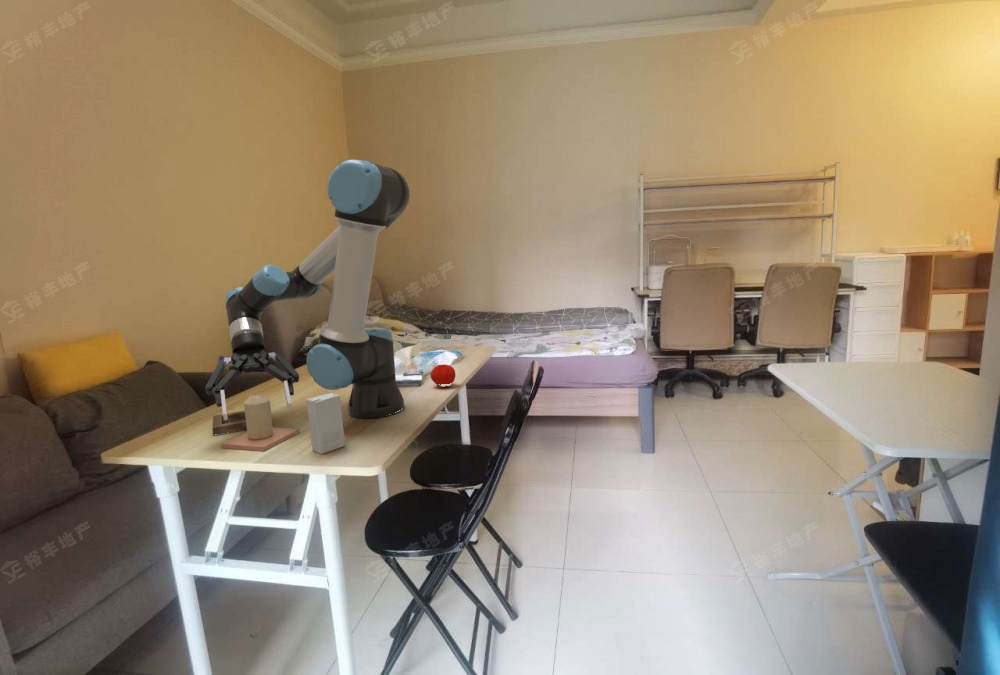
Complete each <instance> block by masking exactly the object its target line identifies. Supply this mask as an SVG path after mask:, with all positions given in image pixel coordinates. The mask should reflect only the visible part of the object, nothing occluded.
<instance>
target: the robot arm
mask: <svg viewBox="0 0 1000 675" xmlns="http://www.w3.org/2000/svg"><path fill="white" fill-rule="evenodd" d="M327 196H328V199H330V200H331V201H330V203H331V204H332V205H333V206H332V207H334V208H335V210H334V211H335V212H334V219H335V220H336V222H337V223H338V224H339V225H338V226H337V227H336V228H335V229H334V230H333V232H331V233H330V234H329V235H328V236H327V237H326V238H325V239H323V241H322V242H321V243H320V244H318V246H317V247H316V248H315V249H314V250H313V251H312V252H311V253H310V254H308V256H307V257H306V258H305V259H303V260H302V262H300V264H298V265H297V266H296V267H295V268H294V269H292V270H291V271H285V270H284V269H282V268H281V267H279V266H275V265H273V264H266V265H263V267H261V269H260V270H258V271H257V272H255V274H254V275H253V276H252V278H251V279H249V281H248V282H247V283H246V285H244V286H239V287H235V288H234V289H231V290H228V292H227V294H226V296H225V310H226V316H227V322H228V326H229V327H228V330H229V337H230V344H231V353H232V356H231V357H225V355H220V356H218V358H217V359H218V360H217V361H218V363H217V365H216V366H215V369H214V370H213V373H211V376H210V377H209V380H208V381H207V383H206V385H205V387H204V388H205V392H206V396H207V395H208V396H211V395H213V396H214V397H215V404H216V406H217V408H221V409H222V414H223V417H224V420H228V417H227V413H228V409H227V402H226V401H227V400H226V395H225V394H226V393H225V391H226V390H227V389H228V388H229V387H230V385H231V384H233V382H234V381H235V379H236V378H237V377H240V375H241V374H243V373H245V374H247V373H252V372H255V373H257V372H260V371H261V370H262V371H263V372H264V373H268V374H269V375H271V376H272V377H274V378H276V379H277V380H279V381H280V382H282V383H283V389H284V395H285V396H284V397H285V399H286V400H285V401H286V405H287V410H291V409H292V399H291V398H292V397H291V396H294V394H295V389H294V385H293V384H294V383H298V382H299V381H300V374H299V372H298V371H297V370H296V369H295V368H294V367H293V366H292V365H291V364H290V363H289V362H288V361H287V360H286V359H285V358H284V357H283V355H282V353H281V350H280V349H279V348H278V349H277V348H276V349H275V350H274V351H272V352H268V351H267V350H266V349H267V348H266V344H265V338H264V330H263V326H262V321H261V316H262V314H263V313H264V312H265V311H266V310H267V309H269V307H270V306H271V305H272V304H273V303H274V302H275V303H276V302H282V301H289V300H297V299H308V298H310V297H314V296H316V295H318V294H319V293H320V292H321V289H322V285H323V282H324V281H326V279H328V277H329V276H331V275H332V274H333V273H334V274H333V281H332V289H331V297H330V305H329V311H328V312H329V313H328V320H327V324H326V325H325V326H323V328H321V329H320V330H319V336H318V337H319V339H318V344H315V345H313V346H312V348H310V350H309V351H308V352H307V355H306V364H305V365H306V368H307V372H308V374H309V375H310V377H311V378H312V379H313V381H314V382H315V384H317V385H318V386H320V387H321V388H323V389H325V390H329V391H336V390H340V389H344V388H347V387H349V386H350V385H352V387H351V388H352V389H351V392H350V396H349V400H348V405H347V410H348V415H349V416H351V417H354V418H359V419H375V418H374V417H377V418H382V417H381V416H384V417H387V416H386V415H389V414H392V415H394V414H393V413H395V412H397V411H399V410H401V409H402V408H403V407H404V408H405V400H404V398H403V394H402V392H401V390H400V388H399V385H398V382H397V379H396V377H397V376H396V366H395V363H396V362H395V352H394V340H393V334H392V332H391V330H390V329H389V328H365V325H366V319H367V318H366V317H367V310H368V306H369V305H368V304H369V298H370V291H371V286H372V278H373V277H372V276H373V271H374V265H375V257H376V250H377V243H378V237H379V233H380V232H381V231H383V230H386V229H388V228H389V227H390V226H391V225H392V224H394V223H395V221H397V219H399V218H400V217H401V215H403V214H404V212H405V210H406V209H407V207H408V205H409V203H410V199H411V198H410V196H411V195H410V186H409V184H408V182H407V180H406V179H405V177H404V176H403V175H402V174H401V172H399V171H397V170H396V169H394V168H391V167H387V166H383V165H381V164H378V163H374V162H371V161H368V160H360V159H348V160H345V161H342V162H341V163H340V164H338V165H337V166H336V167H334V169H333V170H332V172H331V173H330V175H329V178H328V182H327ZM270 359H272V361H274V362H276V363H277V364H278V366H279V367H280V368H278V367H277V366H275V365H274V364H272V363H271V362H270V361H269V360H270ZM229 364H231V365H232V367H231V369H230V370H229V372H228V373H226V374H225V375H224V377H223V378H222V379H221V377H222V375H223V373H224V372H225V369H226V368H228V367H229ZM281 369H282V370H281ZM220 379H221V380H220ZM395 414H396V413H395ZM389 416H390V415H389Z"/></svg>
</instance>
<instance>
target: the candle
mask: <svg viewBox="0 0 1000 675" xmlns="http://www.w3.org/2000/svg"><path fill="white" fill-rule="evenodd" d="M243 406H244V411H245V417H246V426H247V430H246V432H247V435H248V438H249V439H252V440H257V439H264V438H267V437H270V436H272V435H273V427H274V426H273V420H272V419H273V418H272V408H271V399H270V398H268V396H265V395H264V394H262V395H261V394H260V395H259V394H256V395H255V394H250V396H248V397H247V398H246V399H245V401H244V402H243Z"/></svg>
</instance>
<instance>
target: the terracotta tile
mask: <svg viewBox="0 0 1000 675" xmlns="http://www.w3.org/2000/svg"><path fill="white" fill-rule="evenodd" d="M272 427H273V435H272V436H270V437H267V438H264V439H257V440H252V439H249V438H248V435H247V431H245V432H244V433H241V434H240V435H237V436H235V437H233V438H230V439H228V440H226V441H224V442H222V443H220V446H221V449H229V450H230V449H231V450H241V451H243V450H245V451H255V452H256V451H257V452H266V451H267V450H270V449H272V448H274V447H275V446H277V445H279V444H282V442H285V441H286V440H289V439H292V437H294V436H297V435H298V434H300V428H288V427H274V426H272Z"/></svg>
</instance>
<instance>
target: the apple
mask: <svg viewBox="0 0 1000 675" xmlns="http://www.w3.org/2000/svg"><path fill="white" fill-rule="evenodd" d="M430 379H431V381H432V382H433V383H434V384H435V385H436V384H440V385H441V384H450V383H452V382H453V383H454V381H455V379H456V370H455V369H454V367H453V366H452V365H450V364H444V363H443V364H438V365H436V366H434V367H433V369H432V370H431V371H430ZM453 383H452V384H453Z"/></svg>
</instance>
